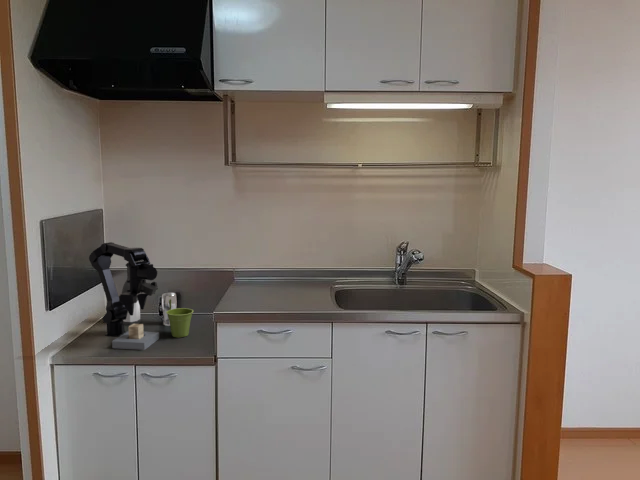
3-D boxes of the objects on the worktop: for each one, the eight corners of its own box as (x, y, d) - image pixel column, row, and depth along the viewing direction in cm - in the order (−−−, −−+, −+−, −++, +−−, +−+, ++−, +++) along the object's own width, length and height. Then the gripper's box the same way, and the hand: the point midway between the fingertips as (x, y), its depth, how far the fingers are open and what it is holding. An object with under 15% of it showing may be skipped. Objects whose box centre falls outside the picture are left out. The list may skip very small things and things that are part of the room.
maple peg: (129, 344, 199) (128, 326, 198) (134, 341, 204) (133, 323, 203) (138, 345, 199) (138, 327, 198) (143, 341, 203) (143, 324, 202)
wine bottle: (124, 320, 232) (122, 261, 229) (141, 319, 234) (139, 261, 230) (121, 325, 225) (119, 264, 221) (139, 324, 227) (137, 264, 223)
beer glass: (163, 326, 224) (162, 296, 222) (161, 322, 230) (160, 293, 228) (178, 324, 227) (177, 294, 225) (175, 321, 233) (175, 291, 232)
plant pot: (194, 338, 209) (194, 314, 207) (166, 340, 205) (166, 315, 204) (193, 330, 220) (192, 307, 218) (166, 332, 216) (166, 308, 215)
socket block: (112, 348, 195) (112, 341, 195) (129, 337, 209) (128, 330, 209) (144, 349, 194) (144, 342, 194) (159, 338, 208) (158, 332, 207)
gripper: (143, 283, 191) (144, 319, 193) (163, 273, 209) (164, 307, 211) (117, 281, 192) (118, 318, 194) (140, 272, 211) (140, 306, 213)
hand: (137, 312), depth 203 cm, fingers open, 9 cm apart
